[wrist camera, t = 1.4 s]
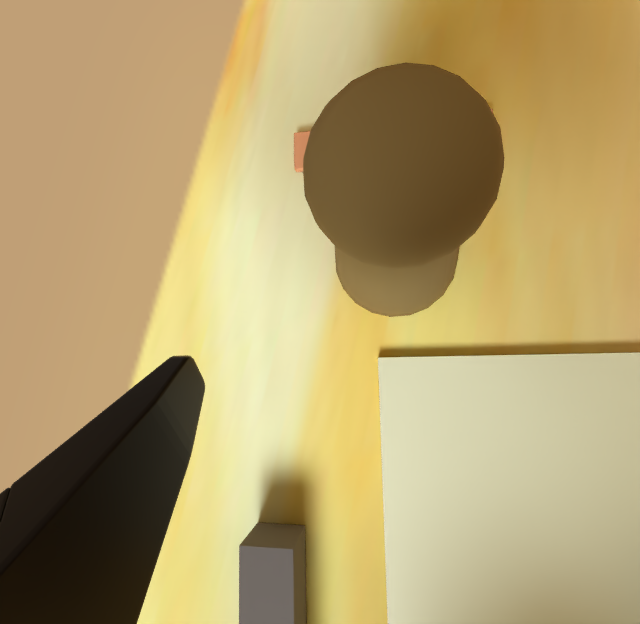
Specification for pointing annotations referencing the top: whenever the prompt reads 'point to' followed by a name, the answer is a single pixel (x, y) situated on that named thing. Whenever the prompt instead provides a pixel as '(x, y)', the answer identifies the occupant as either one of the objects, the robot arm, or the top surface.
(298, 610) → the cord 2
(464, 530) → the pad
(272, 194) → the top surface
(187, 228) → the top surface
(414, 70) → the cork
